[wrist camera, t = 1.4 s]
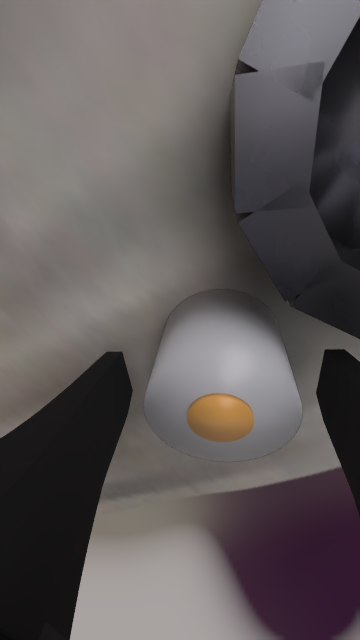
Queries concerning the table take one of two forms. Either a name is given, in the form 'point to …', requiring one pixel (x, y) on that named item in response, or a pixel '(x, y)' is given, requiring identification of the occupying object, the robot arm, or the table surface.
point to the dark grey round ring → (302, 153)
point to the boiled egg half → (223, 380)
